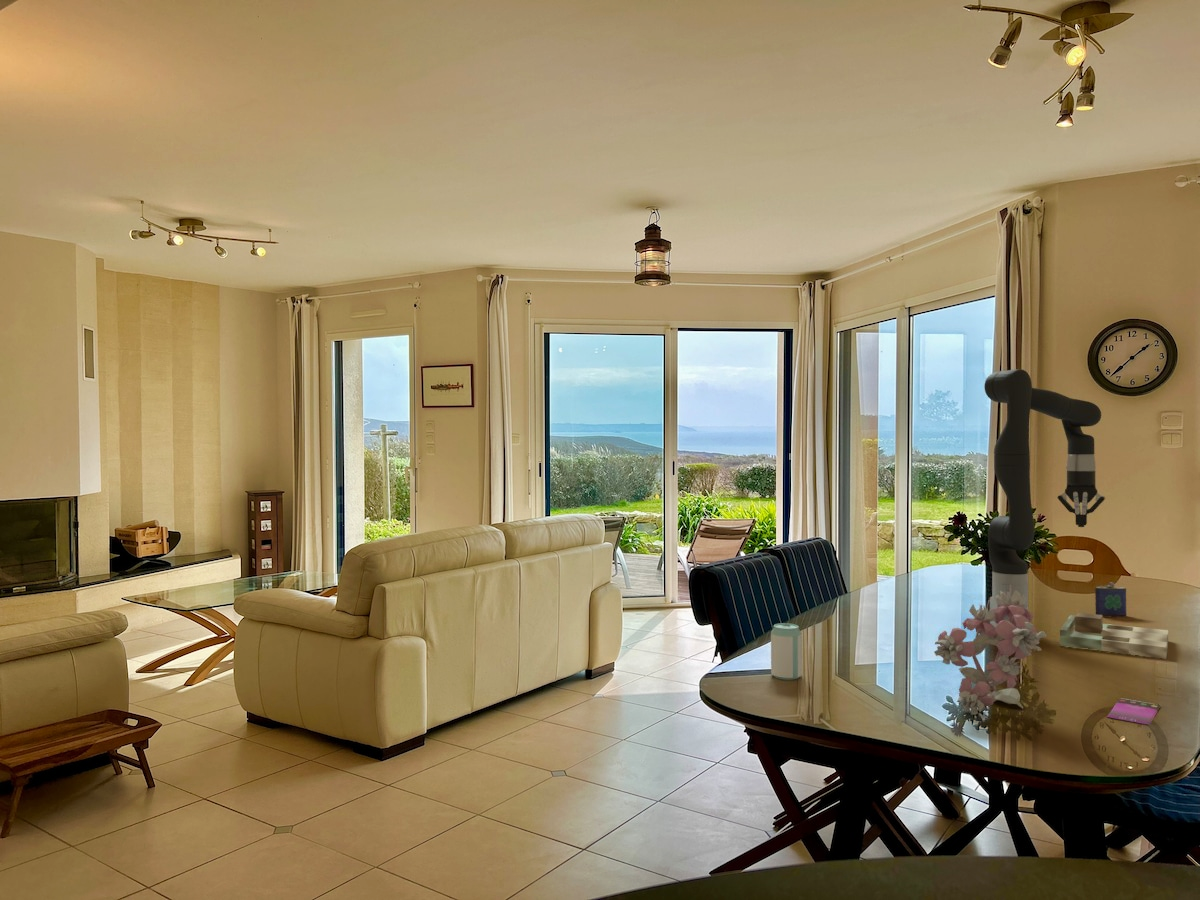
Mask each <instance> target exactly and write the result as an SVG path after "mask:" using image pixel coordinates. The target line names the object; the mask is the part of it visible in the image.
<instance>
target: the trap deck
mask: <svg viewBox="0 0 1200 900" xmlns="http://www.w3.org/2000/svg"><path fill="white" fill-rule="evenodd" d="M1075 616H1076V615H1074V614H1073V615H1072V614H1070V615H1069V616H1068V618H1067V619H1066V621H1065V622H1064V623H1063V625H1062V626H1061V628H1060V629H1059V646H1060V645H1062V646H1069V647H1076V648H1088V649H1097V650H1103V651H1109V652H1108V653H1110V652H1115V653H1114V654H1118V653H1123V654H1122V655H1126V654H1131V655H1130V656H1135V655H1139V656H1138V657H1143V656H1146V657H1145V658H1151V657H1155V658H1154V659H1160V658H1162V660H1167V658H1168V657H1167V655H1168V646H1169V630H1168V629H1159V628H1150V627H1140V626H1129V625H1120V624H1111V623H1103V630H1102V632H1101V634H1099V633H1089V632H1080V631H1075ZM1076 648H1075V649H1076Z"/></svg>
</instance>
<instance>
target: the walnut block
mask: <svg viewBox="0 0 1200 900" xmlns="http://www.w3.org/2000/svg"><path fill="white" fill-rule="evenodd" d="M1103 618H1104V617H1103V615H1096V613H1085V612H1077V613H1076V615H1075V631H1080V632H1089V633H1099V634H1101V632H1102V630H1103V624H1104V623H1103V622H1104V619H1103Z"/></svg>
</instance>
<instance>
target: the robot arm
mask: <svg viewBox="0 0 1200 900" xmlns="http://www.w3.org/2000/svg"><path fill="white" fill-rule="evenodd" d="M984 392H985V394H986V396H987V398H988V399H990V400H991V401H993V402H996V403H1001V404H1002V403H1003V404H1008V407H1007V408H1008V411H1007V418H1006V421H1005V422H1006V423H1005V424H1004V425H1005V426H1004V427H1003V429H1002V431H1001V433H1000V435H999V436H998V439H997V440H996V442H995V444H994V447H993V450H994V451H993V471H994V474H995V476H996V478H997V480H998V482H999V484H1000V486H1001V488H1002V490H1003V492H1004V493H1005V496H1006V499H1007V502H1008V512H1009V513H1008V515H999V516H995V517H993V519H991V521H990V523H989V525H988V531H987V532H988V533H987V540H988V557H989V562H990V564H991V569H992V571H991V573H992V576H991V577H992V578H991V579H992V584H991V585H992V586H991V590H992V592H991V593H992V594H991V595H992V596H990V597H989V600H990V602H989V610H990V611H991V610H992V609H995V608H997V607H1001V606H1000V605H999V604H998V603H996V599H995V597H996V596H997V595H999V596H1000V597H1001V595H1000V591H1002V592H1003V593H1005V592H1006V594H1007V592H1009V594H1010V585H1011V596H1012V595H1013V591H1014V590H1016V591H1018V592H1019V593H1020V594H1021V595H1020V597H1021V596H1022V595H1023V594H1024V596H1025V599H1026V601H1025V604H1023V605H1022V606H1020V607H1023V608H1024V609H1026V610H1028V611H1029V565H1028V563H1027V562H1026V561H1025V560H1023V559H1021V558H1020V557H1019V556H1018V554H1017V552H1016V551H1025V550H1028V549H1029V548H1030V547H1031V546H1032V544H1033V543H1034V542H1033V541H1034V538H1035V523H1034V515H1033V507H1032V497H1031V479H1030V478H1031V477H1030V475H1031V474H1030V473H1031V455H1030V454H1031V451H1030V420H1031V419H1030V416H1031V410H1032V411H1034V412H1035V411H1036V412H1039V413H1041V414H1044V415H1046V416H1049V417H1051V418H1054V419H1057V420H1061V423H1062V427H1063V429H1064V430H1063V431H1064V434H1065V438H1066V440H1067V458H1066V487H1065V490H1064V492H1063V493H1062V494H1059V495H1058V496H1057V500H1058V501H1059V502H1060V503H1061V504H1062V505H1063V506H1064V507H1065V509H1066V510H1067V511H1068V512H1069V513H1073V514H1074V515H1075V525H1076V526H1077V527H1078V528H1084V527H1085V526H1086V525H1088V524H1087V523H1088V515H1089V514H1092V513H1094V512H1095V510H1096V509H1098V507H1099V506H1100V505H1101V504H1102V503H1103V502H1104V501H1105V500H1106V497H1105V496H1104V495H1101V494H1100V493H1098V489H1097V488H1096V457H1095V456H1096V455H1095V437H1094V436H1092V435H1090V434H1086V433H1084V432H1083V430H1082V428H1083V427H1085V428H1086V427H1087V428H1089V427H1093V426H1096V425H1097V424H1099V422H1100V421H1101V418H1102V412H1101V409H1100V407H1099V406H1098V405H1097V404H1095V403H1093V402H1092V401H1091V402H1090V401H1087V400H1083V399H1078V398H1077V399H1076V398H1073V397H1072V398H1071V397H1068V396H1066V395H1064V394H1061V393H1059V392H1057V391H1052V390H1048V389H1043V388H1036V387H1033V384H1032V378H1031V377H1030V375H1029V373H1028V372H1027V371H1026V370H1025V369H1018V368H1017V369H1008V370H1007V369H1006V370H998V371H996V372H995V371H994V372H992V373H991V374H988V376H987V377H986V379H985V382H984ZM1081 427H1082V428H1081ZM1068 498H1069V500H1070V501H1071V502H1072V503H1073V505H1074V507H1073V506H1072V505H1071V504H1070V503H1069V502H1068ZM1094 498H1095V499H1094ZM1093 499H1094V501H1095V502H1094V503H1093V505H1092V506H1091V507H1090V508H1088V506H1089V505H1088V504H1089V503H1090V502H1092V500H1093ZM990 608H991V609H990ZM1023 617H1025V616H1023ZM1025 618H1026V617H1025ZM1004 620H1006V621H1009V619H1008V616H1007V615H1006V617H1005V618H1004ZM1009 622H1010V621H1009ZM989 623H990V624H992V625H993V626H994V627H995V628H996V626H997V623H995V621H990V622H989Z"/></svg>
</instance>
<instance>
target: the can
mask: <svg viewBox="0 0 1200 900" xmlns="http://www.w3.org/2000/svg"><path fill="white" fill-rule="evenodd" d="M799 628H800V627H799V625H797V624H794V623H784V622H783V623H775V624H774V625H773V627H772V630H771V631H770V673H771V675H772V676H774V677H775V678H776V679H779V680H784V681H793V680H794V681H795V680H798V678H800V677H802V675H803V663H802V661H803V660H802V659H803V655H802V654H803V653H802V651H803V649H802V647H803V646H802V643H803V642H802V641H803V640H802V639H803V638H802V637H803V636H802V632H801V630H800V629H799Z"/></svg>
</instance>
